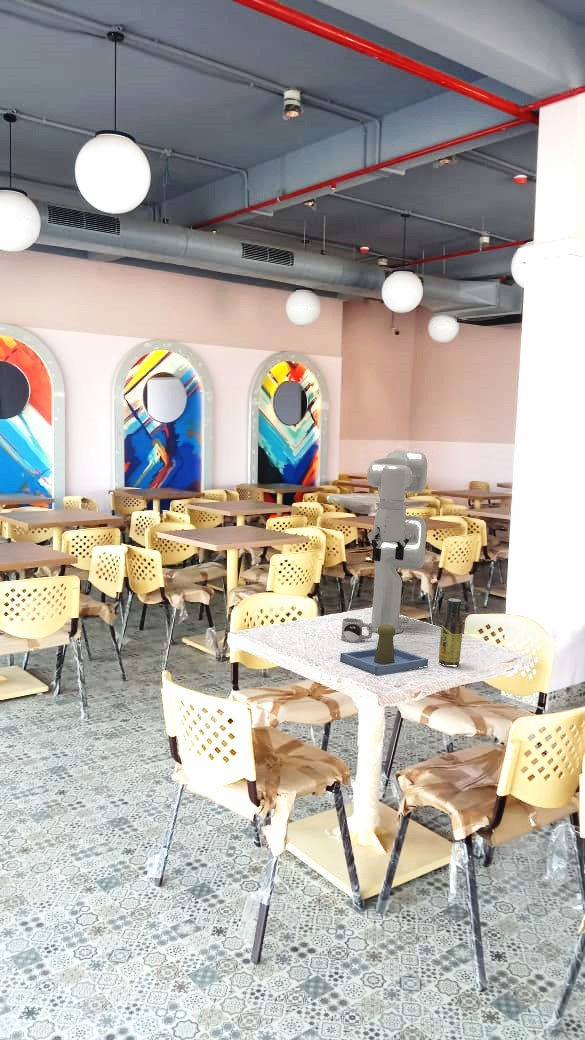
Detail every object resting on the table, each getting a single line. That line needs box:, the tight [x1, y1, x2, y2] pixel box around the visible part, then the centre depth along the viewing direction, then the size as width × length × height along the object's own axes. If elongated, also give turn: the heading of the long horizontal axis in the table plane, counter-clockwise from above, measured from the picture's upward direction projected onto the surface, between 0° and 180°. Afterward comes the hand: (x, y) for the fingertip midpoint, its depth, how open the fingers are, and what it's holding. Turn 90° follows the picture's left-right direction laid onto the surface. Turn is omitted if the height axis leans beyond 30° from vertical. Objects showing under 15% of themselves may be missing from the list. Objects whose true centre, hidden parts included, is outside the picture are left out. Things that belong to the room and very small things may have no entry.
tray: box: [339, 647, 429, 676], centre depth 240 cm, size 20×16×2 cm
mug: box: [340, 617, 373, 644], centre depth 268 cm, size 10×7×7 cm
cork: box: [374, 625, 396, 665], centre depth 240 cm, size 6×6×11 cm
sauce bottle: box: [438, 598, 464, 666], centre depth 243 cm, size 6×6×20 cm
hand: (387, 560), depth 256 cm, fingers open, 9 cm apart
